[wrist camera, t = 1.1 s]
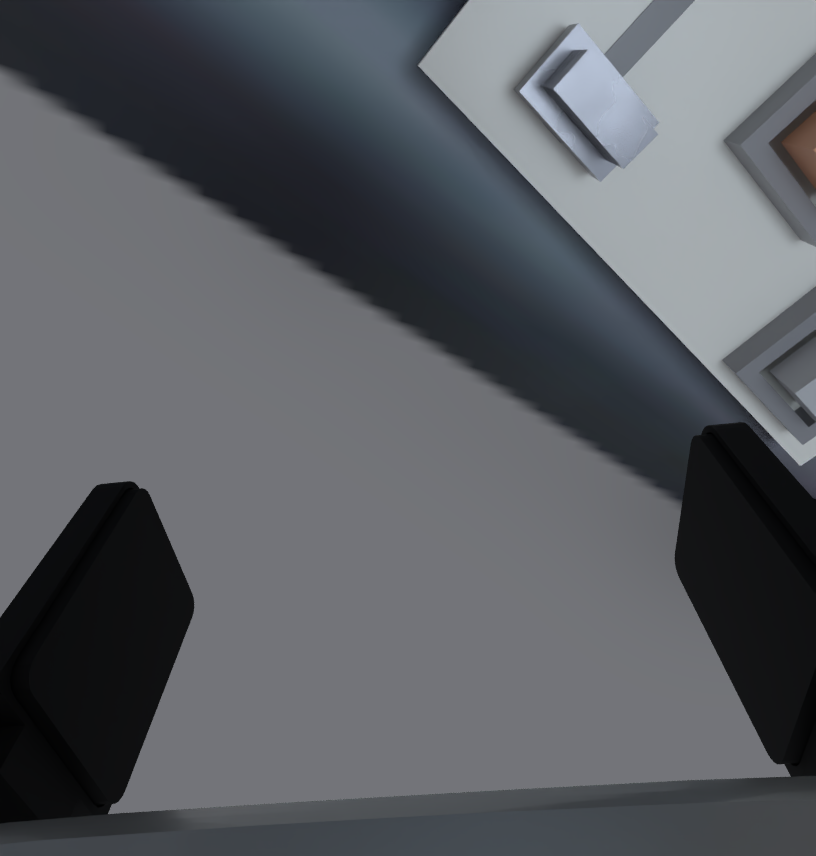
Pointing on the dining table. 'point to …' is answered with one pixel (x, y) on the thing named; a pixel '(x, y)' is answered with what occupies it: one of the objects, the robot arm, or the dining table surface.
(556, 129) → the dark slider
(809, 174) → the terracotta button
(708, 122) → the panel
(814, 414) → the grey button
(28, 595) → the robot arm
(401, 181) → the dining table surface
